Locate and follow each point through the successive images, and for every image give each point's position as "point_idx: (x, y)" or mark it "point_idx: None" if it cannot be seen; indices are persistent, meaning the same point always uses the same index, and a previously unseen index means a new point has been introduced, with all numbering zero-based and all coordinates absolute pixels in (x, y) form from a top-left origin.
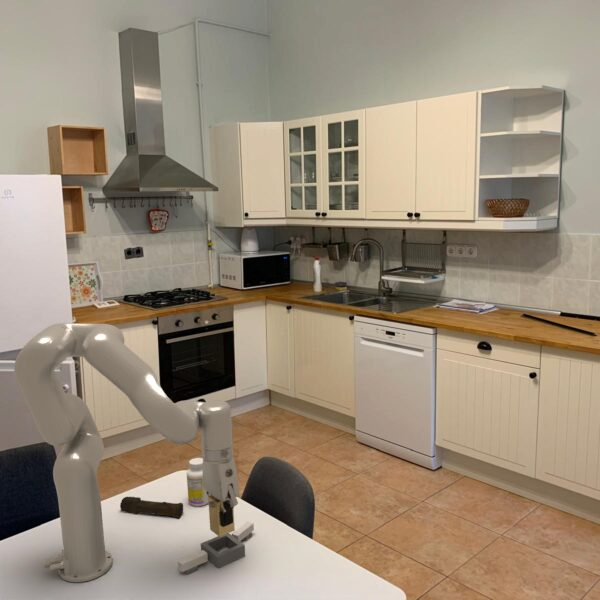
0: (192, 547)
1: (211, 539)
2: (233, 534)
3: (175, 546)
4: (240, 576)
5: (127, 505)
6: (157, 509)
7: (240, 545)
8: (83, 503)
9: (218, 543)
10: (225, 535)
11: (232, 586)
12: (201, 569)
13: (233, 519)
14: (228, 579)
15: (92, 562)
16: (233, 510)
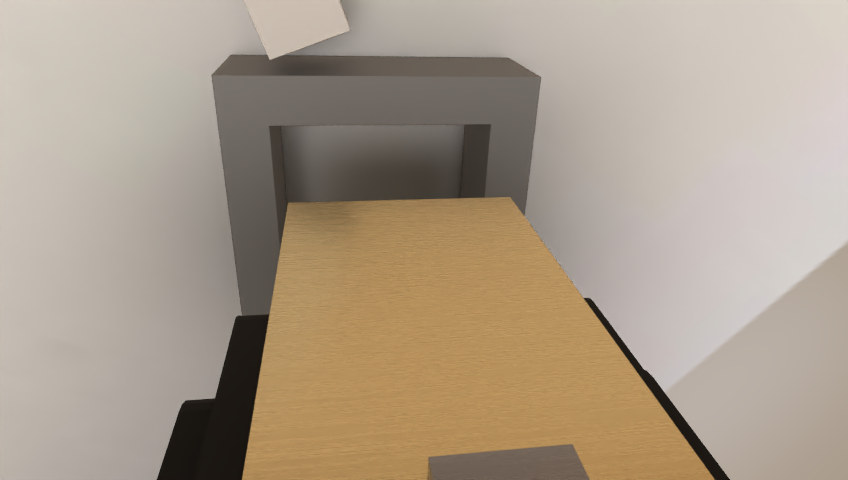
0: (123, 306)
1: (243, 262)
2: (294, 49)
3: (37, 387)
4: (662, 221)
5: None
6: None
7: (517, 113)
8: None
9: (280, 196)
10: (260, 127)
11: (690, 302)
12: None
13: (561, 279)
14: (624, 289)
15: None
16: (631, 367)
